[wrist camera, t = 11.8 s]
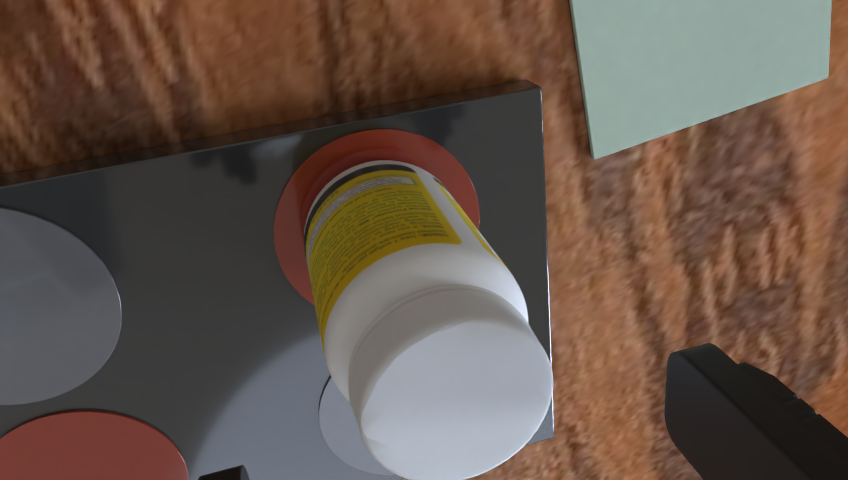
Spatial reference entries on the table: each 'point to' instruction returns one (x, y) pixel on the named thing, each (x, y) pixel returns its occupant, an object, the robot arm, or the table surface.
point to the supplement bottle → (422, 325)
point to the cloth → (690, 61)
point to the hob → (227, 290)
